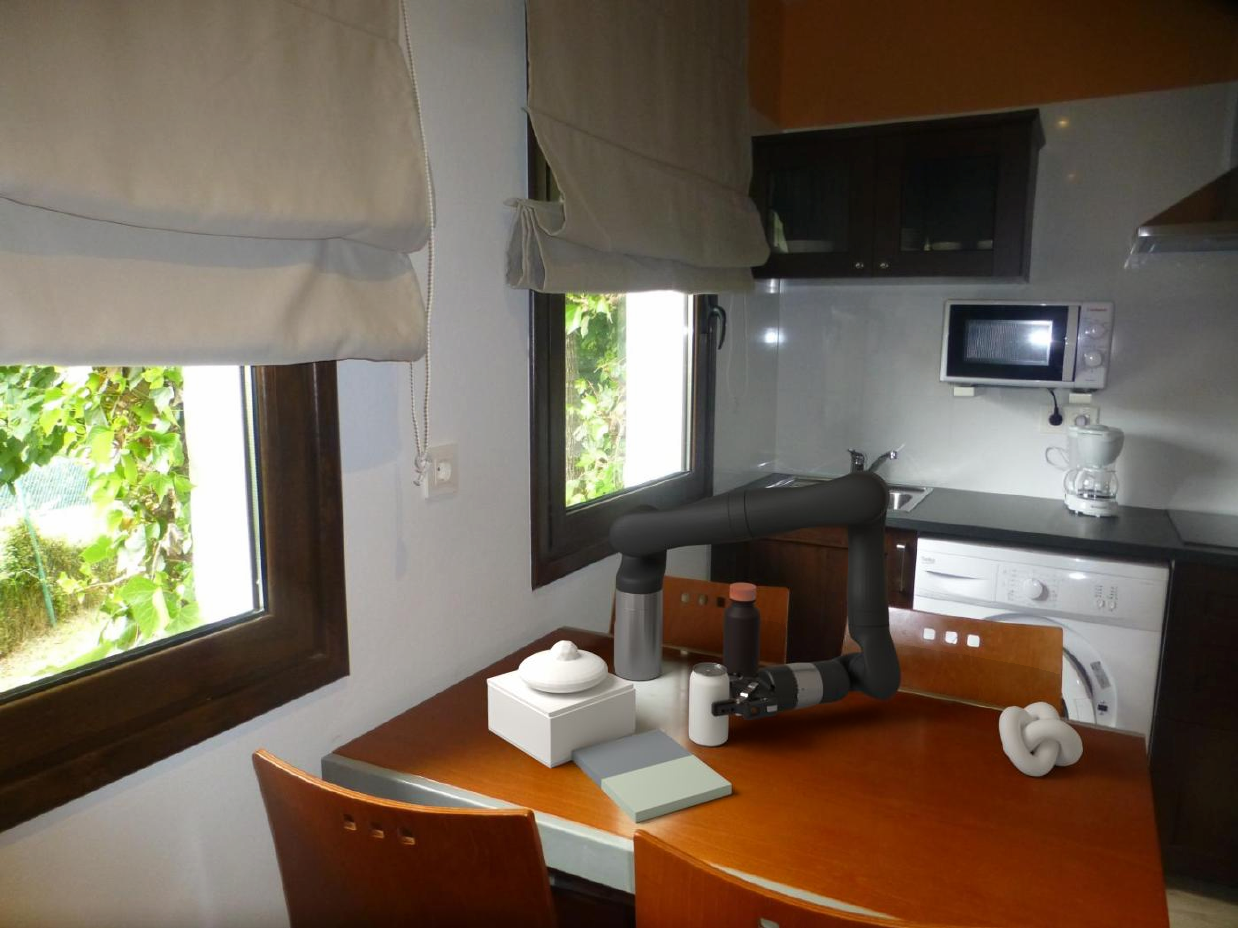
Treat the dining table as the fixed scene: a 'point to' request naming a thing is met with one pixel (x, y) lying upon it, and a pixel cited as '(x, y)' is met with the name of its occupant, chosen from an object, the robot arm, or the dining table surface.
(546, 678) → the white lidded box
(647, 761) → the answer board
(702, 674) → the can
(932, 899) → the dining table surface
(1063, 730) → the white decorative knot
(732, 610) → the bottle
